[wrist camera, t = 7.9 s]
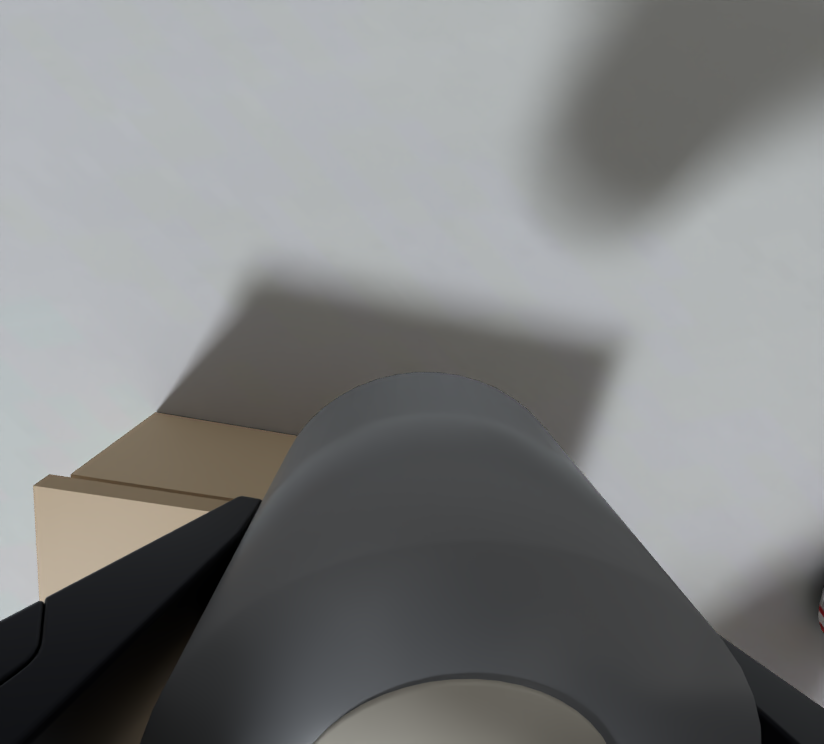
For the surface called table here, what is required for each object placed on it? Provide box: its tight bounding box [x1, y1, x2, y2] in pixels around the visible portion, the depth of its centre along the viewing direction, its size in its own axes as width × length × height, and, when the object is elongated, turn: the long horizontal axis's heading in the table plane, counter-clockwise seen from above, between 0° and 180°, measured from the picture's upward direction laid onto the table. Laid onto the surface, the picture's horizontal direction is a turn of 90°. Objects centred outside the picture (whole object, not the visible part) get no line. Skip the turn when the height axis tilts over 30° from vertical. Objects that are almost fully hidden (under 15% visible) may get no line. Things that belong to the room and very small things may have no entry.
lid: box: [33, 474, 229, 602], centre depth 15 cm, size 15×14×1 cm
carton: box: [71, 412, 297, 501], centre depth 18 cm, size 14×14×5 cm
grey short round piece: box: [140, 372, 761, 744], centre depth 7 cm, size 6×6×5 cm
